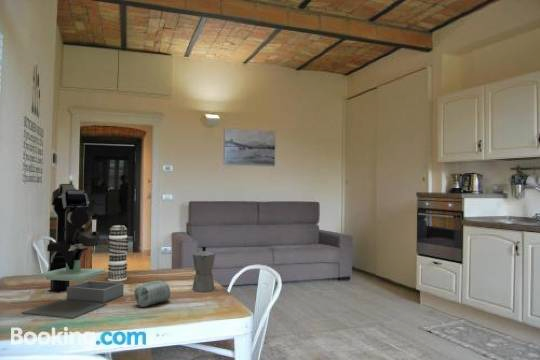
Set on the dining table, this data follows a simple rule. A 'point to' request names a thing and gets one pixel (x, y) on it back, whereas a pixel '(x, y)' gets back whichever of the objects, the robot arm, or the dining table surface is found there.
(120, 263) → the decorative candle
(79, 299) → the tub
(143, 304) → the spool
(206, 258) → the coffeepot
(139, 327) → the dining table surface
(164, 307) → the dining table surface
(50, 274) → the lid
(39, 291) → the dining table surface
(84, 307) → the mat
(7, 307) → the dining table surface
